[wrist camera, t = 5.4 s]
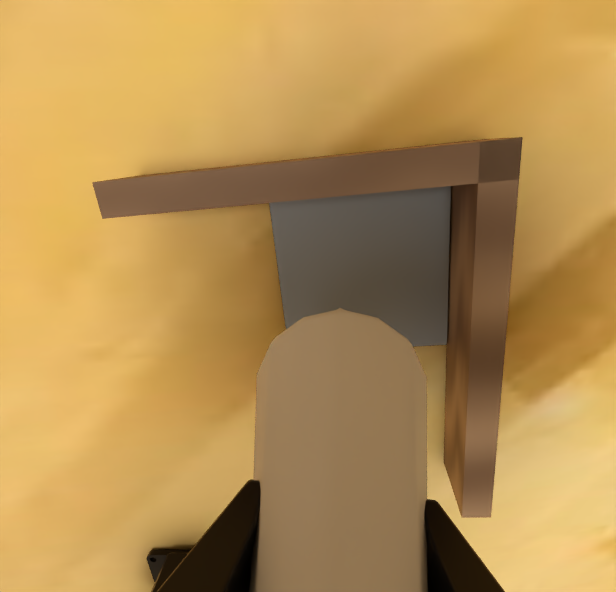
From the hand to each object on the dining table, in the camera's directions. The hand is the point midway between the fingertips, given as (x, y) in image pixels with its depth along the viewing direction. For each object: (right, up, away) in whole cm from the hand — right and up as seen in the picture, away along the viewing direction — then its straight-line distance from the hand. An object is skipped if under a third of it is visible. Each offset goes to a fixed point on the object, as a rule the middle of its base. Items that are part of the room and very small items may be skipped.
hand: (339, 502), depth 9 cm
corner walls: (0, +3, +13) cm, 13 cm away
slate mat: (+2, +6, +12) cm, 13 cm away
